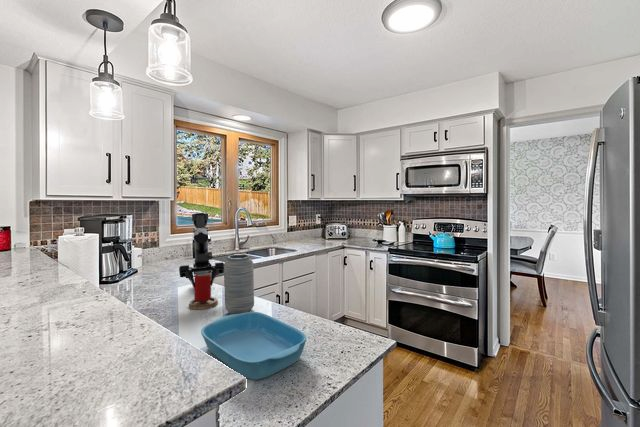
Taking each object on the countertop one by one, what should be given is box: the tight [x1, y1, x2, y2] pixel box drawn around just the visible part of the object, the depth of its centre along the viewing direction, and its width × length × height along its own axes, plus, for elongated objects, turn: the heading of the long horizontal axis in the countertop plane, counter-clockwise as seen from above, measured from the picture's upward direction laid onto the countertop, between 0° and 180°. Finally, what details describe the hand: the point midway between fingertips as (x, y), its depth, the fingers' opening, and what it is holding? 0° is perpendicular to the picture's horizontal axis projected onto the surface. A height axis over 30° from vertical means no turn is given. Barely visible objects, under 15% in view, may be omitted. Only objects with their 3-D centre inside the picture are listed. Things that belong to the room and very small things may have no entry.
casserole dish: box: [200, 311, 307, 381], centre depth 93 cm, size 37×22×7 cm, turn 44°
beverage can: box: [193, 272, 212, 302], centre depth 135 cm, size 7×7×12 cm
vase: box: [223, 253, 255, 315], centre depth 126 cm, size 12×12×23 cm
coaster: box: [188, 296, 219, 311], centre depth 135 cm, size 12×12×2 cm
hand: (202, 286), depth 134 cm, fingers closed on beverage can, 7 cm apart
